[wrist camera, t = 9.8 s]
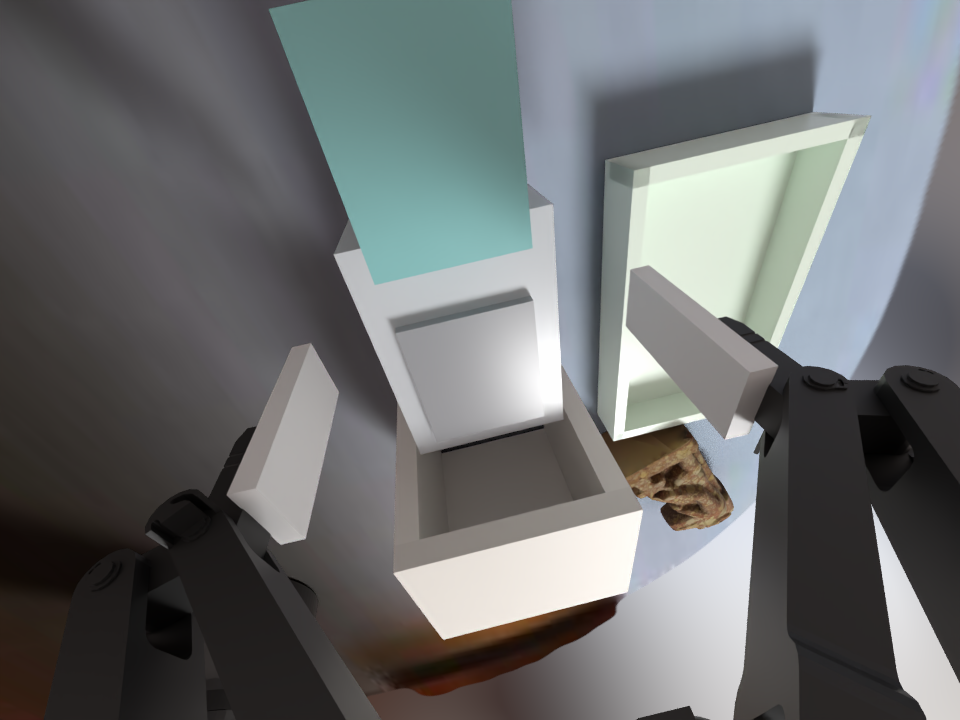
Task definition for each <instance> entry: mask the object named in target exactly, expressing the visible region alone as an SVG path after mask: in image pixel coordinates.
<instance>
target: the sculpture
mask: <svg viewBox="0 0 960 720" xmlns="http://www.w3.org/2000/svg"><path fill="white" fill-rule="evenodd" d="M601 436H602V438H603V439H604V441H605V443H606V445H607V446H608V448H609V450H610V452H611V454H612V455H613V457H614V459H615V461H616V462H617V464H618V466H619V468H620V470H621V471H622V473H623V475H624V477H625V479H626V480H627V482H628V484H629V486H630V487H631V489H632V491H633V493H634V494H635V495H636V496H637V497H638V498H644V497H646V496H648V497H649V498H651V499H652V500H656V501H661V502H666V504H665V505H664V506H663V507H662V508H661V513H662V515H663V517H664V519H665V520H666V522H667V523H668V525H669V526H670V527H671V528H672V529H673V530H675V531H680V530H686V529H691V528H698V529H703V528H705V527H710V526H713V525H716V524H719V523H720V522H722V521H723V520H725V519H727V518H728V517H729V516H730V515H731V512H732V511H733V508H734V506H733V503H732V500H731V499H730V497H729V495H728V493H727V491H726V489H725V488H724V486H723V484H722V483H721V482H720V480H719V479H718V478H717V477H716V476H715V475H713V473H712V471H711V470H710V468H709V467H708V465H707V463H706V461H705V460H704V458H703V456H702V454H701V452H700V451H699V449H698V443H697V441H696V440H695V439H694V437H693V436H692V434H691V433H690V432H689V430H688V429H687V428H686V427H685V426H684V424H681V425H677V426H673V427H669V428H665V429H661V430H657V431H653V432H649V433H645V434H641V435H637V436H633V437H629V438H625V439H621V440H617V441H613V440H612V438H611V436H610V434H609V433H608V431H606V432H605V433H603V434H601Z"/></svg>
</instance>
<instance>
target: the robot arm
mask: <svg viewBox="0 0 960 720" xmlns="http://www.w3.org/2000/svg"><path fill="white" fill-rule="evenodd" d="M626 327H627V328H628V329H629V331H630V332H631V333H632V334H633V335H634V336H635V337H636V339H637V340H638V341H639V342H640V343H641V344H642V345H643V347H644V348H645V349H646V350H647V351H648V352H649V353H650V355H651V356H652V357H653V358H654V359H655V360H656V361H657V363H658V364H659V365H660V366H661V367H662V368H663V369H664V371H665V372H666V373H667V374H668V375H669V376H670V378H671V379H672V380H673V381H674V382H675V383H676V384H677V386H678V387H679V388H680V389H681V390H682V391H683V392H684V394H685V395H686V396H687V397H688V398H689V399H690V400H691V402H692V403H693V404H694V405H695V406H696V407H697V408H698V410H699V411H700V412H701V413H702V414H703V415H704V416H705V418H706V419H707V420H708V421H709V422H710V423H711V424H712V426H713V427H714V428H715V429H716V430H717V431H718V433H719V434H720V435H721V436H722V437H723V438H724V439H725V440H726V439H730V438H734V437H739V436H743V435H747V434H749V433H750V430H751V428H752V426H753V423H754V421H756V422H757V423H758V424H759V425H760V426H761V427H762V428H763V429H764V431H763V433H762V435H761V438H760V440H759V442H758V444H757V446H756V448H755V451H754V453H755V454H758V453H759V451H760V455H759V469H758V482H757V496H756V510H755V523H754V537H753V551H752V565H751V578H750V592H749V606H748V619H747V633H746V646H745V660H744V670H743V675H742V679H741V682H740V685H739V689H738V692H737V697H736V702H735V709H734V719H733V720H926V716H925V714H924V712H923V711H922V709H921V707H920V705H919V703H918V702H917V701H916V700H915V699H914V698H913V697H912V696H910V695H909V694H908V693H907V692H906V691H904V690H903V688H902V686H901V684H900V682H899V679H898V675H897V670H896V664H895V657H894V651H893V644H892V637H891V631H890V625H889V618H888V611H887V605H886V598H885V592H884V585H883V580H882V572H881V566H880V559H879V553H878V547H877V539H876V533H875V526H874V520H873V513H872V507H871V504H872V506H873V508H874V510H875V512H876V514H877V516H878V518H879V520H880V522H881V525H882V527H883V528H884V531H885V533H886V535H887V536H888V539H889V541H890V543H891V545H892V547H893V549H894V551H895V553H896V555H897V557H898V559H899V561H900V563H901V565H902V567H903V569H904V571H905V573H906V575H907V577H908V579H909V581H910V583H911V585H912V587H913V589H914V591H915V593H916V595H917V597H918V599H919V602H920V604H921V606H922V608H923V610H924V612H925V614H926V616H927V618H928V620H929V622H930V624H931V626H932V628H933V630H934V632H935V634H936V636H937V638H938V640H939V642H940V644H941V646H942V648H943V650H944V652H945V654H946V656H947V658H948V660H949V662H950V664H951V666H952V668H953V670H954V672H955V674H956V676H957V678H958V680H959V682H960V388H959V387H958V386H957V385H956V384H955V383H954V382H952V381H951V380H950V379H948V378H947V377H945V376H943V375H941V374H939V373H937V372H935V371H932V370H929V369H925V368H921V367H914V366H906V365H905V366H894V367H891V368H888V369H887V370H886V371H885V373H884V374H883V376H882V377H881V379H880V380H876V381H875V380H847V379H846V378H845V377H844V376H842V375H840V374H838V373H836V372H834V371H832V370H829V369H825V368H821V367H813V366H805V367H802V366H801V365H800V364H798V363H797V362H796V361H794V360H793V359H791V358H790V357H789V356H787V355H786V354H785V353H783V352H782V351H780V350H779V349H778V348H776V347H775V346H774V345H772V344H771V343H770V342H768V341H765V339H764V338H763V337H761V336H760V335H759V334H755V331H753V330H752V329H750V328H749V327H748V326H746V325H745V324H744V323H742V322H739V321H737V320H734V319H732V318H729V317H727V316H726V317H721V318H716V317H715V316H714V315H712V314H711V313H710V312H709V311H707V310H706V309H705V308H703V307H702V306H701V305H700V304H698V303H697V302H696V301H694V300H693V299H692V298H691V297H689V296H688V295H687V294H685V293H684V292H683V291H682V290H680V289H679V288H678V287H676V286H675V285H674V284H673V283H671V282H670V281H669V280H667V279H666V278H665V277H664V276H662V275H661V274H660V273H658V272H657V271H656V270H655V269H653V268H652V267H651V266H649V265H647V266H643V267H639V268H634V269H630V280H629V292H628V303H627V314H626ZM338 395H339V391H338V390H337V388H336V386H335V384H334V383H333V381H332V379H331V377H330V376H329V374H328V372H327V370H326V369H325V367H324V365H323V363H322V362H321V360H320V358H319V356H318V354H317V353H316V351H315V349H314V347H313V346H312V344H311V343H308V344H304V345H300V346H295V347H292V348H291V351H290V353H289V355H288V357H287V360H286V362H285V364H284V366H283V369H282V371H281V373H280V376H279V378H278V380H277V382H276V385H275V387H274V389H273V391H272V394H271V396H270V398H269V400H268V403H267V405H266V407H265V409H264V412H263V414H262V416H261V418H260V421H259V423H258V425H257V426H256V427H252V428H248V429H247V430H246V431H245V432H244V433H243V434H242V435H241V436H240V437H239V439H238V440H237V441H236V442H235V444H234V446H233V448H232V450H231V453H230V455H229V456H230V457H229V458H228V459H227V461H226V463H225V465H224V469H222V471H221V473H220V475H219V477H218V479H217V481H216V484H215V486H214V488H213V490H212V492H211V494H210V496H209V498H207V497H206V496H205V495H204V494H203V493H201V492H200V491H199V490H194V489H189V490H186V491H183V492H180V493H178V494H176V495H174V496H173V497H171V498H169V499H168V500H167V501H165V502H164V503H163V504H162V505H160V506H159V507H158V508H157V509H156V511H155V512H154V513H153V514H152V515H151V517H150V518H149V520H148V522H147V524H146V526H145V534H146V535H147V536H149V537H150V538H152V539H153V540H155V541H156V542H158V543H159V544H161V545H160V546H158V547H156V548H154V549H152V550H150V551H148V552H146V553H144V554H142V555H140V554H138V553H136V552H135V551H133V550H131V549H129V548H128V549H120V550H117V551H115V552H113V553H110V554H108V555H107V556H105V557H104V558H103V559H101V560H100V561H98V562H97V563H96V564H95V565H93V567H91V568H90V569H89V570H88V571H87V572H86V573H85V575H84V576H83V577H82V579H81V580H80V581H79V583H78V584H77V586H76V588H75V591H74V593H73V596H72V600H71V605H70V609H69V613H68V618H67V622H66V626H65V631H64V635H63V639H62V643H61V648H60V652H59V656H58V661H57V665H56V669H55V673H54V678H53V682H52V686H51V691H50V695H49V699H48V703H47V708H46V712H45V716H44V720H381V719H380V717H379V715H378V714H377V712H376V711H375V709H374V708H373V706H372V705H371V703H370V702H369V700H368V699H367V697H366V696H365V694H364V692H363V691H362V689H361V688H360V686H359V685H358V683H357V682H356V680H355V679H354V677H353V676H352V674H351V673H350V671H349V670H348V668H347V667H346V665H345V664H344V662H343V660H342V659H341V657H340V656H339V654H338V653H337V651H336V650H335V648H334V647H333V645H332V644H331V642H330V641H329V639H328V638H327V636H326V635H325V633H324V632H323V630H322V629H321V627H320V625H319V624H318V622H317V621H316V613H317V607H318V599H317V596H316V595H315V593H314V592H313V591H312V590H310V589H309V588H308V587H306V586H304V585H302V584H300V583H298V582H295V581H292V580H289V578H288V577H287V575H286V574H285V572H284V571H283V569H282V568H281V566H280V565H279V563H278V561H277V560H276V558H275V557H274V555H273V554H272V553H271V552H270V551H269V550H268V549H267V546H268V542H269V539H270V536H272V537H273V538H274V539H275V540H276V541H277V542H278V543H279V544H280V545H282V544H286V543H290V542H294V541H298V540H303V539H306V534H307V530H308V526H309V521H310V517H311V513H312V508H313V504H314V500H315V495H316V491H317V486H318V482H319V478H320V473H321V469H322V465H323V460H324V456H325V452H326V447H327V443H328V438H329V434H330V430H331V425H332V421H333V417H334V412H335V408H336V404H337V399H338ZM637 720H709V719H706V718H702V717H697V716H694V715H693V712H692V710H691V708H690V706H687V707H683V708H679V709H675V710H671V711H667V712H663V713H658V714H654V715H650V716H646V717H642V718H638V719H637Z"/></svg>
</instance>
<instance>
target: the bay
mask: <svg viewBox="0 0 960 720" xmlns="http://www.w3.org/2000/svg"><path fill="white" fill-rule="evenodd" d="M561 378H562V398H563V419H564V420H560V421H556V422H552V423H548V424H544V428H543V429H539V430H535V431H531V432H527V433H523V434H519V435H515V436H511V437H507V438H503V439H499V440H495V441H491V442H487V443H483V444H478V445H474V446H470V447H466V448H462V449H458V450H454V451H450V452H446V453H442V454H441V451H440V450H438V451H433V452H429V453H425V454H420V452H419V449H418V447H417V445H416V442H415V440H414V438H413V436H412V433H411V431H410V429H409V426H408V424H407V422H406V420H405V417H404V415H403V413H402V410H401V408H400V406H399V404H398V401H397V441H396V483H395V524H394V565H393V573H394V575H395V576H396V577H397V579H398V580H399V581H400V583H401V584H402V585H403V587H404V588H405V589H406V591H407V592H408V593H409V595H410V596H411V597H412V599H413V600H414V601H415V603H416V604H417V605H418V607H419V608H420V609H421V611H422V612H423V613H424V615H425V616H426V617H427V619H428V620H429V621H430V623H431V624H432V625H433V627H434V628H435V629H436V631H437V632H438V633H439V635H440V636H441V637H442V639H443V640H444V639H448V638H452V637H456V636H459V635H463V634H467V633H471V632H475V631H479V630H483V629H487V628H490V627H494V626H498V625H502V624H506V623H510V622H514V621H517V620H521V619H525V618H529V617H533V616H537V615H541V614H544V613H548V612H552V611H556V610H560V609H564V608H568V607H571V606H575V605H579V604H583V603H587V602H591V601H595V600H599V599H602V598H606V597H610V596H614V595H618V594H622V593H626V592H628V588H629V583H630V577H631V572H632V567H633V561H634V556H635V550H636V545H637V540H638V534H639V529H640V523H641V518H642V512H643V509H642V507H641V505H640V503H639V502H638V500H637V498H636V496H635V495H634V493H633V491H632V489H631V487H630V486H629V484H628V482H627V480H626V479H625V477H624V475H623V473H622V471H621V470H620V468H619V466H618V464H617V462H616V461H615V459H614V457H613V455H612V454H611V452H610V450H609V448H608V446H607V445H606V443H605V441H604V439H603V438H602V436H601V434H600V432H599V430H598V429H597V427H596V425H595V423H594V422H593V420H592V418H591V416H590V414H589V413H588V411H587V409H586V407H585V406H584V404H583V402H582V400H581V398H580V397H579V395H578V393H577V391H576V390H575V388H574V386H573V384H572V382H571V381H570V379H569V377H568V375H567V373H566V372H565V370H564V368H563V366H562V365H561Z"/></svg>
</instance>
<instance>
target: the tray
mask: <svg viewBox="0 0 960 720" xmlns="http://www.w3.org/2000/svg"><path fill="white" fill-rule="evenodd" d="M870 118H871V116H869V115H854V114H838V113H822V112H811V113H807V114H803V115H798V116H794V117H790V118H785V119H781V120H777V121H772V122H768V123H764V124H759V125H755V126H751V127H746V128H742V129H737V130H733V131H729V132H724V133H720V134H716V135H711V136H707V137H703V138H698V139H694V140H690V141H685V142H681V143H677V144H672V145H668V146H664V147H659V148H655V149H651V150H646V151H642V152H638V153H633V154H629V155H625V156H620V157H616V158H612V159H607V160H605V184H604V216H603V247H602V279H601V311H600V342H599V374H598V406H597V414H598V416H599V417H600V419H601V421H602V423H603V424H604V426H605V428H606V429H607V431H608V433H609V434H610V436H611V438H612V440H613V441H617V440H621V439H625V438H629V437H633V436H637V435H641V434H645V433H649V432H653V431H657V430H661V429H665V428H669V427H673V426H677V425H681V424H685V423H689V422H693V421H697V420H701V419H705V416H704V415H703V414H702V413H701V412H700V411H699V410H698V408H697V407H696V406H695V405H694V404H693V403H692V402H691V400H690V399H689V398H688V397H687V396H686V395H685V394H684V392H683V391H682V390H681V389H680V388H679V387H678V386H677V384H676V383H675V382H674V381H673V380H672V379H671V378H670V376H669V375H668V374H667V373H666V372H665V371H664V369H663V368H662V367H661V366H660V365H659V364H658V363H657V361H656V360H655V359H654V358H653V357H652V356H651V355H650V353H649V352H648V351H647V350H646V349H645V348H644V347H643V345H642V344H641V343H640V342H639V341H638V340H637V339H636V337H635V336H634V335H633V334H632V333H631V332H630V331H629V329H628V328H627V327H626V314H627V303H628V292H629V280H630V269H634V268H639V267H643V266H647V265H649V266H651V267H652V268H653V269H655V270H656V271H657V272H658V273H660V274H661V275H662V276H664V277H665V278H666V279H667V280H669V281H670V282H671V283H673V284H674V285H675V286H676V287H678V288H679V289H680V290H682V291H683V292H684V293H685V294H687V295H688V296H689V297H691V298H692V299H693V300H694V301H696V302H697V303H698V304H700V305H701V306H702V307H703V308H705V309H706V310H707V311H709V312H710V313H711V314H712V315H714V316H715V317H716V318H721V317H726V316H727V317H729V318H732V319H734V320H737V321H739V322H742V323H744V324H745V325H746V326H748V327H749V328H750V329H752V330H753V331H755V334H759V335H760V336H761V337H763V338H764V339H765V341H768V342H770V343H771V344H772V345H774V346H775V347H776V348H778V346H779V344H780V341H781V339H782V336H783V334H784V331H785V329H786V326H787V324H788V321H789V319H790V316H791V314H792V311H793V309H794V306H795V304H796V301H797V299H798V297H799V294H800V292H801V289H802V287H803V284H804V282H805V279H806V277H807V274H808V272H809V269H810V267H811V264H812V262H813V259H814V257H815V254H816V252H817V249H818V247H819V244H820V242H821V239H822V237H823V235H824V232H825V230H826V227H827V225H828V222H829V220H830V217H831V215H832V212H833V210H834V207H835V205H836V202H837V200H838V197H839V195H840V192H841V190H842V187H843V185H844V182H845V180H846V178H847V175H848V173H849V170H850V168H851V165H852V163H853V160H854V158H855V155H856V153H857V150H858V148H859V145H860V143H861V140H862V138H863V135H864V133H865V130H866V128H867V125H868V123H869V120H870Z"/></svg>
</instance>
